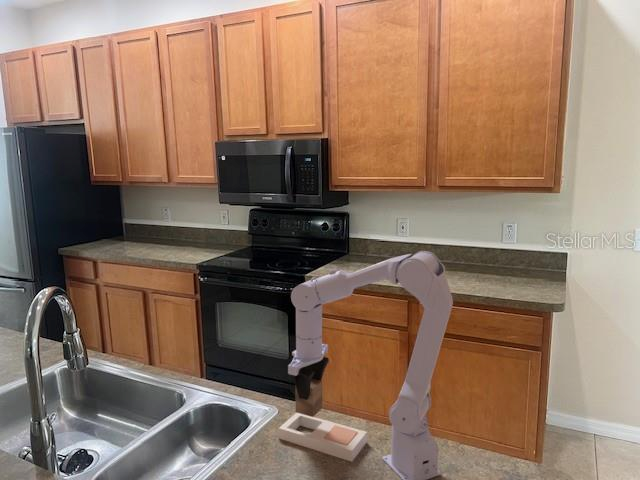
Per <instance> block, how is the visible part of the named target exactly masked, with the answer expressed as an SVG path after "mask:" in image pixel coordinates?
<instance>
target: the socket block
mask: <svg viewBox="0 0 640 480" xmlns="http://www.w3.org/2000/svg"><path fill="white" fill-rule="evenodd" d="M300 426H301V427H304V428H308V429H311V430H313V431H312V432H311V433H310V434H309V433H306V432H302V431H298V430H297V429H298V428H300ZM278 439H279V440H282V441H284V442H289V443H292V444H295V445H298V446H301V447H305V448H307V449H309V450H314V451H316V452H319V453H323V454H327V455H329V456H331V457H332V456H333V457H336V458H339V459H342V460H345V461H348V462H351V463H353V461H354V460H355V459H356V458H357V456H358V454H359V453H360V452H361V451H362V450H363V448H364V447H365V445H366V444H367V441H368V432H367V431H366V430H362V429H359V428H358V429H357V428H354V427H351V426H349V425H344V424H340V423H336V422H333V421H330V420H326V419H322V418H320V417H319V418H318V417H315V416H313V417H311V416H307V415H304V414H300V413H296V412H295V413H294V414H292V416H291V417H289V418H288V420H286V421H285V422H283V424H281V426H280V427H278Z"/></svg>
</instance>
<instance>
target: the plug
mask: <svg viewBox="0 0 640 480" xmlns="http://www.w3.org/2000/svg"><path fill="white" fill-rule="evenodd" d="M294 386H295V390H294V392H295V393H294V394H295V397H294V399H295V401H294V402H295V413H300V414H304V415H307V416H311V417H315V415H317V414H318V413H319V412H320V411H322V409H323V380H321V381H320V380H315V379H312V380H311V385H310V394H309V398H308V399H307V400H305V399H301V398H299V396H298V392H297V388H296V385H295V384H294Z"/></svg>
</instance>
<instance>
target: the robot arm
mask: <svg viewBox="0 0 640 480" xmlns="http://www.w3.org/2000/svg"><path fill="white" fill-rule="evenodd" d="M384 280H386V281H388V282H390V283H392V284H393V285H397V284H400V285H401V287H402V288H403V289H404V290H406V291H407V292H408V293H410V294H411V295H412V296H413V297H415V298H416V299H417V300H418V301H419V303H420V305H422V306H423V309H424V310H423V314H422V318H421V321H420V325H419V328H418V331H417V336H416V340H415V342H414V347H413V351H412V354H411V358H410V361H409V365H408V367H407V372H406V375H405V380H404V382H403V384H402V386H401V390H400V392H399V393H398V396H397V400H396V401H395V403H394V404H393V405H392V406H390V409H389V412H388V419H389V422H390V424H391V441H390V442H391V443H390V444H391V445H390V446H391V447H390V449H391V450H390V454H387V455H383V456H381V457H382V460H383V461H384V463H385V464H387V466H388V467H389V468H390V469H391V470H392V471H393V472H394V473H395V474H397V476H398V477H399V478H400V479H401V480H430V479H432V478H435V477H438V476H440V475H441V474H442V473H441V471H440V470H439V469H438V465H439V464H438V463H439V462H438V461H439V460H438V458H439V446H438V443H437V441H436V440H435V438H433V436H432V434H431V433H430V430H429V422H428V418H427V416H426V414H427V413H428V411H429V409H430V408H431V403H432V399H431V396H430V395H431V393H430V392H431V391H430V390H431V387H432V385H431V381H432V378H433V374H434V371H435V368H436V366H437V365H436V364H437V360H438V358H439V353H440V351H441V347H442V343H443V339H444V335H445V333H446V330H447V325H448V323H449V319H450V316H451V312H452V308H453V304H454V299H453V296H452V293H451V289H450V285H449V283H448V279H447V275H446V267H445V265H444V264H443V263H442V262H441V261H440V259H439V258H438V256H436V254H434V253H432V252H431V251H428V250H420V251H418V252H415V253H414V254H413V255H412V253H408V254H404V255H399V256H395V257H391V258H387V259H386V260H383V261H380V262H378V263H375V264H372V265H369V266H367V267H364V268H362V269H359V270H356V271H354V272H348V271H346V270H344V269H340V270H338V269H337V268H334V269H331V270H329V272H328V274H325V275H323V276H320V277H317V276H316V275H315V276H313V277H311V278H310V279H309V280H307V281H305V282H303V283H300V284H298V285H296V286H295V287H294V288H293V289H292V290H291V293H290V299H291V303H292V305H293V306H294V308H295V348H296V349H294V350H293V351H292V352H291V356H293V358H292V361H291V362H290V363H289V364H288V365H287V374H288V375H290V377H291V378H292V380H293V382H294V386H295V385H296V388H297V392H298V396H299V398H301V399H305V400H307V399H308V398H309V394H310V385H311V380H312V379H315V380H320V381H323V380H322V379H323V376H324V372H325V371H326V368H327V365H328V364H329V361H330V359H329V357H326V356H325V355H326V354H328V353H329V344H326V343H323V305H326V304H329V303H332V302H335V301H338V300H341V299H345V298H348V297H351V295H352V294H353V292H354V290H355V289H356V288H360V287H363V286H367V285H369V284H370V285H371V284H373V283H377V282H381V281H384Z"/></svg>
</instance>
